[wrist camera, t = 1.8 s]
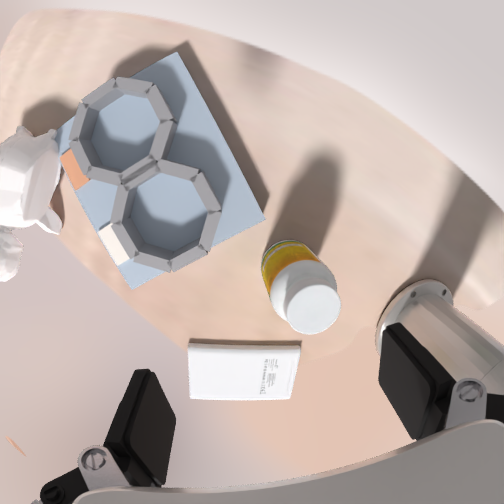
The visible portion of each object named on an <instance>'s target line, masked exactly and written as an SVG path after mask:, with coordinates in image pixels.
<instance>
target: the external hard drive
mask: <svg viewBox="0 0 504 504" xmlns="http://www.w3.org/2000/svg"><path fill="white" fill-rule="evenodd" d="M300 353H301V349H300V346H299V345H221V344H200V343H188V368H189V388H190V398H191V399H192V398H193V399H212V400H274V399H290V397H291V392H292V388H293V384H294V380H295V375H296V371H297V367H298V362H299V358H300Z"/></svg>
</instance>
